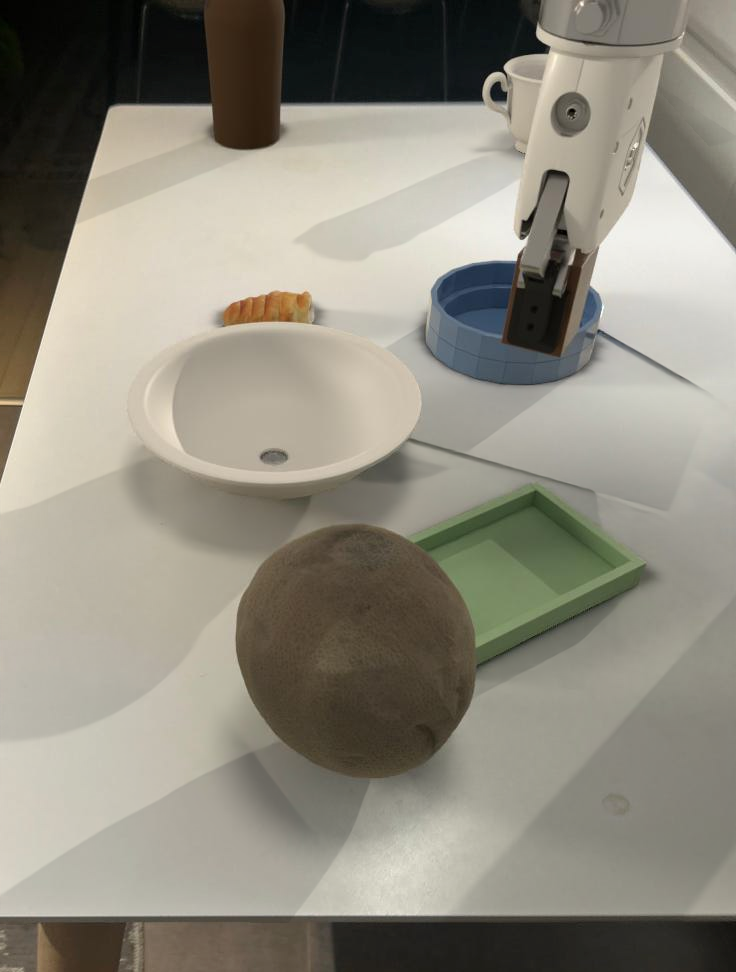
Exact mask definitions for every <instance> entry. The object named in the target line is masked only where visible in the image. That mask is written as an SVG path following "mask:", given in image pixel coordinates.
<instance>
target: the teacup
mask: <svg viewBox="0 0 736 972" xmlns="http://www.w3.org/2000/svg"><path fill="white" fill-rule="evenodd" d="M548 55H549V53H534V54H527V55H520V56H517V57H514V58H511V59H510V60H508V61H507V62H506V63H505V64H504V65H503V70H504V71H505V73H506V75H507V77H506V75H505V74H504V73H503V72H500V71H495V72H492V73H491V74H489V75H488V76H487V78H486V79H485V81H484V84H483V87H482V99H483V102H484V105H486V107H487V108H488V109H489V110H491V111H493V112H496V113H499V114H501V115H502V116H503V117H504V119H505V121H506V126H507V129H508V131H509V133H510V134H511V136H512V137H513V138H514V139H515V140H516V142H515V144H514V148H515V149H516V151H518V152H519V151H520V152H519V153H521V152H522V153H521V154H524V153H525V154H524V155H526V150H527V145H528V140H529V136H530V131H531V127H532V122H533V118H534V113H535V109H536V104H537V100H538V96H539V88H540V87H541V83H542V79H543V75H544V71H545V67H546V63H547V59H548ZM497 82H500V87H501V90H502V92H504V93H506V92H507V98H506V108H504V106H501V105H500V104H498V103H496V102H495V101H493V99H492V97H491V89H492V87H493V85H494V84H495V83H497Z"/></svg>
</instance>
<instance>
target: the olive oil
mask: <svg viewBox="0 0 736 972" xmlns="http://www.w3.org/2000/svg"><path fill="white" fill-rule="evenodd" d="M203 9H204V10H203V12H204V13H203V18H204V19H203V21H204V30H205V41H206V42H205V43H206V51H207V53H206V54H207V62H208V75H209V86H210V96H211V112H212V114H211V115H212V127H213V138H214V140H215V142H216V143H217V144H218V145H219V146H223V147H224V148H225V147H226V148H228V149H235V150H257V149H262V148H266V147H269V146H271V145H274V144H276V143H277V142H278V141H279V140H280V135H281V109H282V108H281V106H282V105H281V104H282V79H283V57H284V42H285V41H284V40H285V39H284V38H285V23H286V10H285V4H284V0H205V4H204V8H203Z"/></svg>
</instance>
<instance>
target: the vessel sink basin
mask: <svg viewBox="0 0 736 972" xmlns="http://www.w3.org/2000/svg"><path fill="white" fill-rule="evenodd" d="M422 406H423V403H422V394H421V390H420V387H419V384H418V381H417V380H416V378H415V376H414V374H413V373H412V371H411V370H410V369H409V368H408V366H407V364H405V363H404V362H403V361H402V360H401V359H400V358H399V357H398V356H396V355H395V354H393V353H392V352H391V351H389V350H388V349H386V348H385V347H383V346H381V345H379V344H377V343H375V342H373V341H371V340H370V339H368V338H365V337H362V336H360V335H357V334H354V333H352V332H348V331H345V330H341V329H338V328H334V327H329V326H325V325H319V324H313V323H312V324H306V323H295V322H257V323H246V324H238V325H232V326H226V327H225V326H222V327H217V328H213V329H209V330H206V331H203V332H200V333H196V334H194V335H191V336H189V337H186V338H184V339H181V340H179V341H177V342H175V343H173V344H171V345H169V346H168V347H166V348H164V349H163V350H161V351H160V352H158V353H157V354H156V355H154V356H153V357H152V358H151V359H149V360H148V361H147V362H146V363H145V364H144V365H143V367H142V368H141V369H139V371H138V373H137V374H136V375H135V377H134V378H133V380H132V382H131V384H130V386H129V389H128V393H127V399H126V412H127V413H126V414H127V417H128V421H129V423H130V426H131V428H132V430H133V431H134V433H135V435H136V437H137V438H138V440H140V442H141V443H142V445H144V446H145V447H146V448H147V449H148V450H149V451H150V452H151V453H152V454H154V455H155V456H156V457H158V458H159V459H161V460H162V461H164V462H165V463H167V464H169V465H170V466H173V467H175V468H177V469H178V470H180V471H183V472H184V473H186V474H187V475H189V477H192V478H194V479H195V480H197V481H199V482H200V483H202V484H204V485H206V486H208V487H210V488H213V489H214V490H218V491H221V492H224V493H227V494H229V495H234V496H238V497H243V498H248V499H255V500H257V499H258V500H290V499H292V500H293V499H298V498H304V497H309V496H313V495H317V494H320V493H323V492H326V491H329V490H332V489H335V488H337V487H338V486H342V485H343V484H345V483H347V482H349V481H350V480H352V479H354V478H355V477H357V476H358V475H360V474H361V473H363V472H364V471H366V470H368V469H370V468H372V467H374V466H376V465H378V464H380V463H381V462H383V461H385V460H386V459H388V458H389V457H390V456H392V455H393V454H394V453H396V452H397V451H398V450H399V449H400V448H402V446H403V445H404V444H405V443H406V442H407V441H408V440H409V438H410V437H411V436H412V434H413V433H414V431H415V430H416V427H417V425H418V423H419V421H420V417H421V414H422V408H423V407H422ZM269 452H280V453H283V454H285V456H286V457H287V460H286V461H284V462H283V463H281V464H273V465H272V464H267V463H265V462H264V461H262V460H261V457H262V455H263V454H265V453H269Z"/></svg>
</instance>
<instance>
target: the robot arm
mask: <svg viewBox="0 0 736 972" xmlns="http://www.w3.org/2000/svg"><path fill="white" fill-rule="evenodd" d="M693 2H694V0H541V2H540V9H539V14H538V20H537V25H536V31H535V35H536V38H537V39H538V41H540V42H541V43H542V44H545V45H547V46H549V47H550V48H549V51H548V54H549V55H548V59H547V63H546V67H545V71H544V75H543V79H542V83H541V87H540V88H539V96H538V100H537V104H536V109H535V113H534V118H533V122H532V127H531V131H530V136H529V140H528V145H527V150H526V154H524V155H525V156H524V160H523V166H522V169H521V176H520V181H519V185H518V192H517V198H516V204H515V211H514V218H513V232H514V234H515V235H516V237H517V238H518V239H519V240H520V241H523V240H525V239H526V238H527V239H526V243H525V245H524V247H525V248H524V247H523V248H524V251H523V254H522V258H521V261H520V273H519V277H518V282H517V286H516V292H515V297H514V302H513V307H512V312H511V317H510V322H509V327H508V333H507V341H508V343H510V344H513V345H517V346H521V347H525V348H529V349H533V350H536V351H540V352H544V353H552V352H554V350H555V349H556V347H557V345H558V341H559V337H560V332H561V328H562V324H563V320H564V316H565V311H566V307H567V303H568V299H569V295H570V292H569V291H565V288H566V285H567V281H568V278H569V274H570V270H571V267H572V263H573V259H574V256H575V252H576V248H579V249H581V253H585V254H587V253H589V252H591V251H593V250H594V249H596V248H597V247H598V246H599V245H601V244H602V243H603V242H604V241H605V239H606V238H607V237H608V235H609V234H610V233H611V231H612V230H613V229H614V227H615V226H616V224H617V223H618V222H619V220H620V219H621V217H622V216H623V214H624V213H625V211H626V210H627V208H628V207H629V205H630V203H631V201H632V198H633V195H634V192H635V189H636V184H637V180H638V177H639V176H638V175H639V172H640V167H641V163H642V159H643V158H642V157H643V153H644V148H645V145H646V140H647V135H648V131H649V127H650V123H651V119H652V114H653V109H654V105H655V101H656V96H657V92H658V88H659V87H658V86H659V83H660V77H661V73H662V68H663V67H662V66H663V61H664V56H665V54H667V53H672V52H674V51H675V50H678V49H679V48H680V46H681V45H682V43H683V39H684V36H685V32H686V29H687V25H688V21H689V17H690V14H691V10H692V7H693V4H694V3H693ZM556 234H560V235H565V236H568V238H563V237H558V236H555V235H556ZM599 247H600V246H599ZM551 250H552V251H557V252H562V257H561V260H560V264H559V268H558V267H557V261H556V260H552V259H550V258H551V256H550V252H551Z"/></svg>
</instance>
